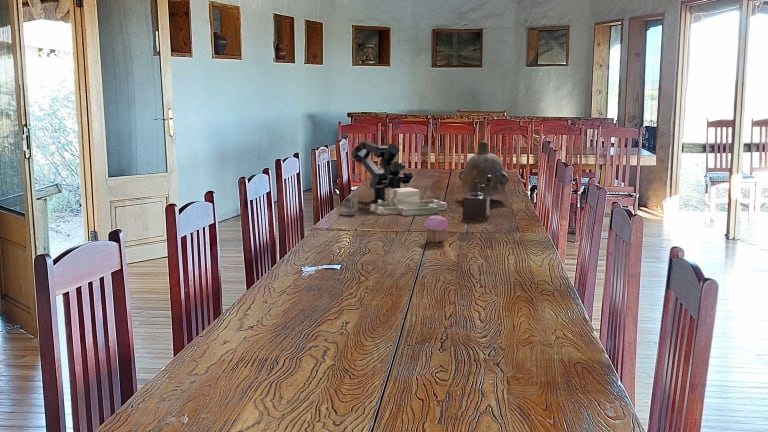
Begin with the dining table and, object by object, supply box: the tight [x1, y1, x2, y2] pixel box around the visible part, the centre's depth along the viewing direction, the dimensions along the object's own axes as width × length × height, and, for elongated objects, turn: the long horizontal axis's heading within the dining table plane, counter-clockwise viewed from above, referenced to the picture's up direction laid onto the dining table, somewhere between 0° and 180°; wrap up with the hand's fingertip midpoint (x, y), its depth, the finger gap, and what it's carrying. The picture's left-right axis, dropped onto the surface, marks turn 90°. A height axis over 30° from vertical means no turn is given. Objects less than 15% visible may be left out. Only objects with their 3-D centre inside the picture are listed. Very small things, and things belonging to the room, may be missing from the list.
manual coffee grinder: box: [462, 175, 494, 220], centre depth 339 cm, size 16×11×18 cm
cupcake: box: [424, 214, 449, 243], centre depth 287 cm, size 9×9×10 cm
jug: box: [458, 140, 510, 198], centre depth 381 cm, size 24×21×30 cm
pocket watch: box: [339, 191, 359, 217], centre depth 340 cm, size 8×8×10 cm
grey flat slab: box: [369, 199, 448, 217], centre depth 355 cm, size 28×34×3 cm
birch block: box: [388, 187, 420, 209], centre depth 358 cm, size 9×11×9 cm
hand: (399, 192), depth 361 cm, fingers closed, pressing on birch block
